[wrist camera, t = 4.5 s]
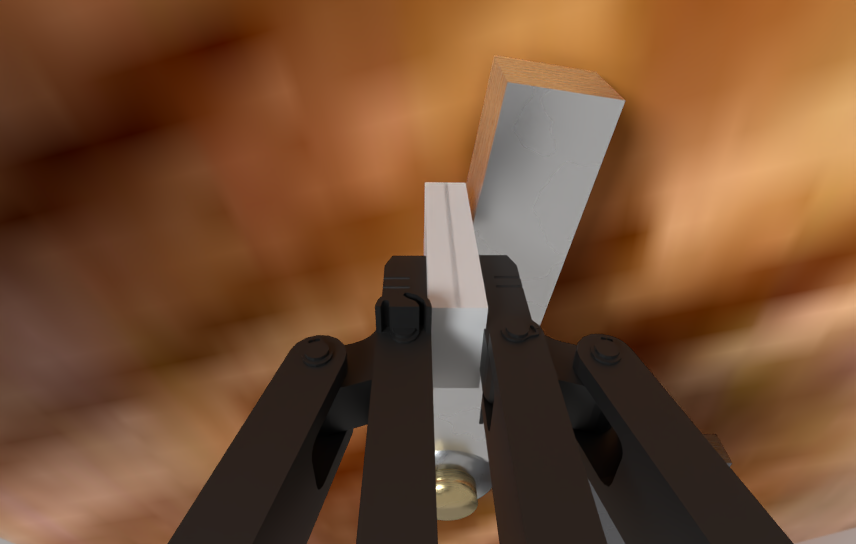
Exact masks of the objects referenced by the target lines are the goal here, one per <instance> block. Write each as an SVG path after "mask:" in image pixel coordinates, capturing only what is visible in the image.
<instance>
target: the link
mask: <svg viewBox="0 0 856 544" xmlns="http://www.w3.org/2000/svg"><path fill="white" fill-rule="evenodd" d="M624 103H625V100H624V99H623V98H622V97H621V96H620V95H619V94H618V93H617V92H616V91H615V90H614V89H613V88H612V87H611V86H610V85H609V84H608V83H607V82H606V81H605V80H604V79H603V78H602V77H601V76H600V75H599V74H597V73H596V72H595V71H589V70H583V69H577V68H571V67H565V66H558V65H552V64H546V63H540V62H534V61H528V60H522V59H516V58H510V57H503V56H497V55H494V59H493V63H492V68H491V72H490V77H489V81H488V86H487V91H486V95H485V100H484V104H483V109H482V113H481V118H480V123H479V127H478V132H477V136H476V141H475V145H474V150H473V155H472V159H471V164H470V168H469V173H468V177H467V182H466V188H467V194H468V199H469V205H470V210H471V216H472V221H473V227H474V233H475V238H476V244H477V249H478V255H507V256H508V257H509V258H510V259H511V260H512V261H513V262H514V263H515V264H516V265H517V268H518V272H519V275H520V279H521V282H522V288H523V289H524V293H525V297H526V300H527V304H528V307H529V311H530V314H531V318H532V320H533V321H534V322H536V323H537V324H538V325H539V326H540V324H541V322H542V319H543V316H544V314H545V311H546V308H547V306H548V303H549V301H550V298H551V295H552V293H553V290H554V287H555V285H556V282H557V280H558V277H559V274H560V272H561V269H562V266H563V264H564V261H565V258H566V256H567V253H568V251H569V248H570V245H571V243H572V240H573V237H574V235H575V232H576V229H577V227H578V224H579V222H580V219H581V216H582V214H583V211H584V208H585V206H586V203H587V200H588V198H589V195H590V193H591V190H592V187H593V185H594V182H595V179H596V177H597V174H598V171H599V169H600V166H601V164H602V161H603V158H604V156H605V153H606V150H607V148H608V145H609V142H610V140H611V137H612V135H613V132H614V129H615V127H616V124H617V121H618V119H619V116H620V114H621V111H622V108H623V106H624ZM482 393H483V391H482V384H481V377H480V386H479V388H433V406H434V438H435V470H439V469H458V470H462V471H465V472H467V473H469V474H470V475H471V476H472V477H473V478H474V479H475V482H476V491H477V499H478V498H480V497H482V496H483V495H485V494H486V493H487V492H488V491H489V490H490V489H491V488H492V482H491V475H490V467H489V460H488V452H487V445H486V437H485V430H484V422H483V424H479V419H480V410H481V402H482Z"/></svg>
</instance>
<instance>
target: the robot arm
mask: <svg viewBox="0 0 856 544" xmlns="http://www.w3.org/2000/svg"><path fill="white" fill-rule="evenodd" d="M375 315H376V331H375V332H374V333H373V334H372V335H371V336H370V337H368V338H366V339H364V340H362V341H359V342H356V343H353V344H348V345H344V344H343V343H342V342H340V341H339V340H338V339H337V338H334V337H331V336H324V335H317V336H312V337H308V338H305V339H304V340H302V341H300V342H298V343H297V344H296V345H295V346H294V347H293V348H292V349H291V350H290V352H289V353H288V355H287V356H286V358H285V360H284V361H283V363H282V364H281V366H280V367H279V369H278V371H277V372H276V374H275V375H274V377H273V378H272V380H271V382H270V383H269V385H268V386H267V388H266V390H265V391H264V393H263V394H262V396H261V397H260V399H259V401H258V402H257V404H256V405H255V407H254V408H253V410H252V412H251V413H250V415H249V416H248V418H247V419H246V421H245V423H244V424H243V426H242V427H241V429H240V431H239V432H238V434H237V435H236V437H235V438H234V440H233V442H232V443H231V445H230V446H229V448H228V449H227V451H226V453H225V454H224V456H223V457H222V459H221V460H220V462H219V464H218V465H217V467H216V468H215V470H214V472H213V473H212V475H211V476H210V478H209V479H208V481H207V483H206V484H205V486H204V487H203V489H202V490H201V492H200V494H199V495H198V497H197V498H196V500H195V502H194V503H193V505H192V506H191V508H190V509H189V511H188V513H187V514H186V516H185V517H184V519H183V520H182V522H181V524H180V525H179V527H178V528H177V530H176V531H175V533H174V535H173V536H172V538H171V539H170V541H169V543H168V544H307V541H308V539H309V537H310V534H311V532H312V529H313V527H314V525H315V522H316V520H317V517H318V515H319V512H320V510H321V508H322V505H323V503H324V500H325V498H326V496H327V493H328V491H329V488H330V486H331V484H332V481H333V479H334V476H335V474H336V472H337V469H338V467H339V464H340V462H341V460H342V457H343V455H344V452H345V450H346V448H347V445H348V443H349V440H350V438H351V436H352V433H353V428H356V427H359V426H363V425H366V424H368V426H367V437H366V447H365V457H364V468H363V478H362V488H361V499H360V509H359V519H358V530H357V540H356V544H438V535H437V503H436V470H435V438H434V406H433V388H479V386H480V377H481V384H482V391H483V393H482V402H481V410H480V419H479V424H483V422H484V430H485V437H486V445H487V452H488V460H489V467H490V475H491V482H492V490H493V497H494V505H495V512H496V520H497V527H498V535H499V543H500V544H607V541H606V537H605V534H604V531H603V527H602V524H601V521H600V517H599V514H598V511H597V508H596V504H595V501H594V498H593V494H592V491H591V488H590V484H589V481H590V483H591V485H592V486H593V488H594V490H595V492H596V493H597V495H598V497H599V499H600V500H601V502H602V504H603V506H604V507H605V509H606V511H607V513H608V514H609V516H610V518H611V520H612V521H613V523H614V525H615V527H616V528H617V530H618V532H619V534H620V535H621V537H622V539H623V541H624V542H625V544H793V543H792V541H791V540H790V539H789V538H788V537H787V535H786V534H785V533H784V532H783V531H782V529H781V528H780V527H779V526H778V525H777V523H776V522H775V521H774V520H773V519H772V517H771V516H770V515H769V514H768V513H767V511H766V510H765V509H764V508H763V507H762V505H761V504H760V503H759V502H758V501H757V499H756V498H755V497H754V496H753V495H752V493H751V492H750V491H749V490H748V489H747V487H746V486H745V485H744V484H743V483H742V481H741V480H740V479H739V478H738V476H737V475H736V474H735V473H734V472H733V470H732V469H731V468H730V467H729V466H728V464H727V463H726V462H725V461H724V460H723V458H722V457H721V456H720V455H719V454H718V452H717V451H716V450H715V449H714V448H713V446H712V445H711V444H710V443H709V442H708V440H707V439H706V438H705V437H704V436H703V434H702V433H701V432H700V431H699V430H698V428H697V427H696V426H695V425H694V424H693V422H692V421H691V420H690V419H689V418H688V416H687V415H686V414H685V413H684V412H683V410H682V409H681V408H680V407H679V406H678V404H677V403H676V402H675V401H674V400H673V398H672V397H671V396H670V395H669V394H668V392H667V391H666V390H665V389H664V388H663V386H662V385H661V384H660V383H659V382H658V380H657V379H656V378H655V377H654V376H653V374H652V373H651V372H650V371H649V370H648V368H647V367H646V366H645V365H644V364H643V362H642V361H641V360H640V359H639V358H638V356H637V355H636V354H635V353H634V352H633V350H632V349H631V348H630V347H629V346H628V345H626V344H625V343H624V342H623V341H621V340H619V339H617V338H615V337H613V336H609V335H604V334H591V335H588V336H585V337H583V338H582V339H581V340H580V341H579V342H578V344H577V345H574V344H569V343H565V342H561V341H558V340H554V339H552V338H550V337H548V336H546V335H544V332H543V330H542V329H541V327H540V326H539V325H538V324H537V323H536V322H534V321H533V320H532V318H531V314H530V311H529V307H528V304H527V300H526V297H525V293H524V289H523V288H522V282H521V279H520V275H519V272H518V268H517V265H516V264H515V263H514V262H513V261H512V260H511V259H510V258H509V257H508V256H507V255H478V249H477V244H476V238H475V233H474V227H473V221H472V216H471V210H470V205H469V199H468V194H467V188H466V183H440V182H425V209H424V256H392V257H391V259H390V260H389V261H388V262H387V264H386V265H385V269H384V281H383V292H382V297H380V298H379V299H378V301H377V303H376V305H375ZM588 479H589V481H588Z"/></svg>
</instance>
